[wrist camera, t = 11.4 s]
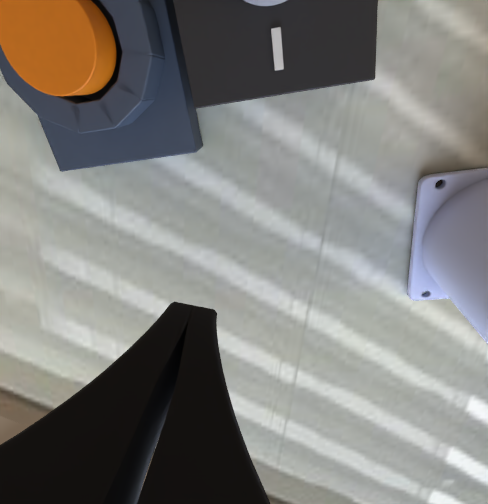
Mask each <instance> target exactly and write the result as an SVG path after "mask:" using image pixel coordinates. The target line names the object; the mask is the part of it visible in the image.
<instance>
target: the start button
mask: <svg viewBox="0 0 488 504" xmlns="http://www.w3.org/2000/svg"><path fill="white" fill-rule="evenodd" d="M0 45H1V47H2V50H3V52H4V54H5V56H6V58H7V60H8V61H9V63H10V65H11V66H12V67H13V69H14V70H15V71H16V72H17V74H18V75H19V76H20V77H21V78H22V79H23V80H24V81H26V82H27V83H28V84H29V85H31V86H32V87H34V88H35V89H37V90H39V91H41V92H43V93H46V94H49V95H53V96H75V95H89V94H93V93H95V92H97V91H99V90H101V89H102V88H103V87H104V86H105V85H106V84H107V83H108V82H109V81H110V79H111V77H112V75H113V72H114V69H115V65H116V43H115V39H114V35H113V32H112V29H111V27H110V25H109V23H108V21H107V19H106V17H105V16H104V14H103V13H102V12H101V10H100V9H99V8H98V7H97V6H96V5H95V4H94V3H93V2H92V1H91V0H0Z"/></svg>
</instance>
